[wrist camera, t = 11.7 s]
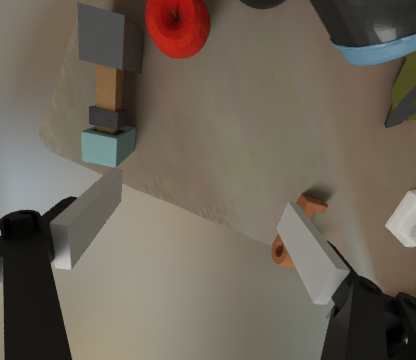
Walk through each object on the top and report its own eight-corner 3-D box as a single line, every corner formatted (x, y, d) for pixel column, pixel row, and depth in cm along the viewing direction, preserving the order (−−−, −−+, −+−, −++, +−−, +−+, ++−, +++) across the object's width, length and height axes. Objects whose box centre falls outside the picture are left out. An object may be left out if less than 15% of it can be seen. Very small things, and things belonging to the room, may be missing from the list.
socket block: (108, 121, 45) (81, 131, 35) (136, 127, 46) (116, 138, 36) (108, 145, 47) (82, 161, 37) (134, 150, 48) (115, 167, 38)
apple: (217, 18, 38) (223, -10, 26) (195, 72, 41) (192, 67, 30) (167, -13, 36) (151, -58, 24) (148, 46, 39) (126, 31, 28)
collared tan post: (102, 50, 35) (88, 45, 31) (130, 57, 36) (120, 53, 32) (101, 139, 42) (89, 145, 38) (125, 144, 42) (116, 151, 38)
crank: (292, 254, 63) (303, 276, 55) (268, 249, 62) (277, 270, 54) (326, 201, 55) (345, 218, 48) (300, 193, 54) (315, 210, 46)
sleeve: (109, 23, 38) (77, 2, 28) (144, 32, 38) (124, 15, 29) (108, 65, 40) (79, 59, 31) (141, 73, 41) (122, 69, 32)
